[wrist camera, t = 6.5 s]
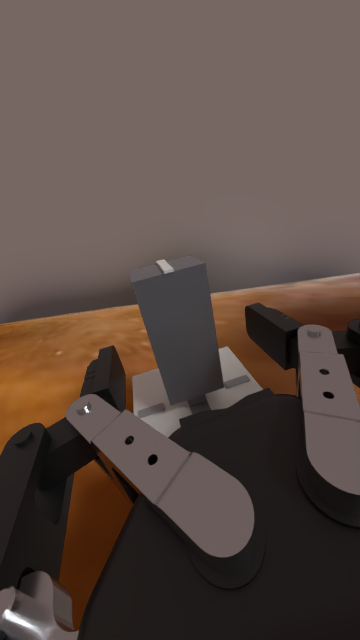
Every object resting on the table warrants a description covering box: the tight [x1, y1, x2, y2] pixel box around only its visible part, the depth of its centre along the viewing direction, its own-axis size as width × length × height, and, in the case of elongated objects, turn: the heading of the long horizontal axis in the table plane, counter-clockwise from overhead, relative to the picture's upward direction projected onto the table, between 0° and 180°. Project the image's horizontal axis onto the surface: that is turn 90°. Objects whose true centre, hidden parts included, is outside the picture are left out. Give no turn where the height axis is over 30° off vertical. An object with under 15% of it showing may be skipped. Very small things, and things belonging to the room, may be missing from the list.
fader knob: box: [130, 255, 224, 406], centre depth 15 cm, size 3×4×10 cm
